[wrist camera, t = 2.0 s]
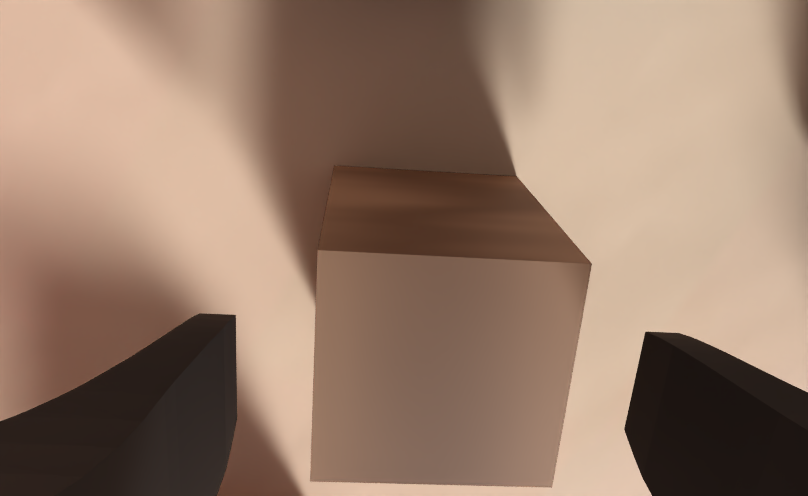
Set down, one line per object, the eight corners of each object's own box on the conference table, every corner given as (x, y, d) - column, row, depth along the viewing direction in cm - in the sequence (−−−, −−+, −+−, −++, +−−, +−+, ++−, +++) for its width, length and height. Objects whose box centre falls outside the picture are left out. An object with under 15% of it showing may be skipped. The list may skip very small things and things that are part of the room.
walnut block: (516, 176, 17) (591, 263, 11) (495, 338, 18) (552, 487, 13) (334, 165, 16) (317, 249, 11) (328, 331, 18) (310, 481, 12)
